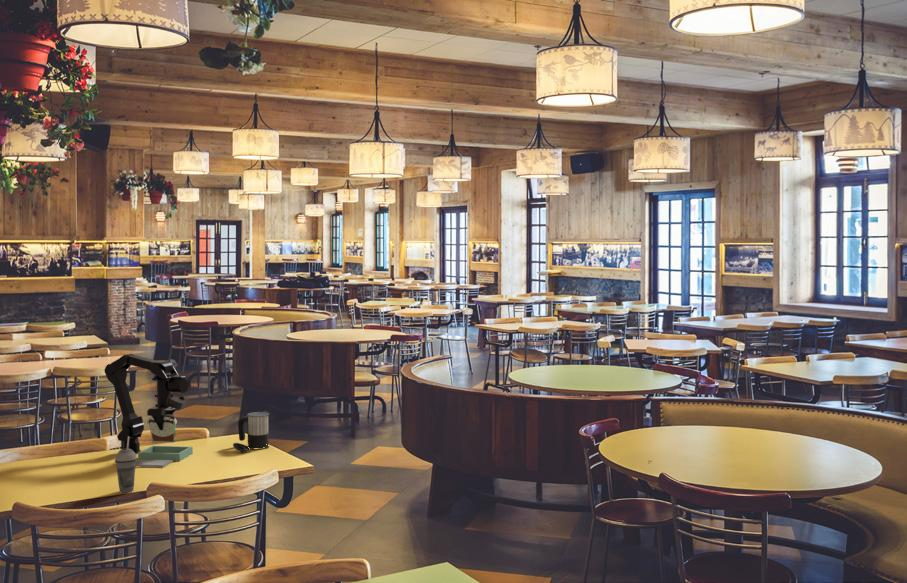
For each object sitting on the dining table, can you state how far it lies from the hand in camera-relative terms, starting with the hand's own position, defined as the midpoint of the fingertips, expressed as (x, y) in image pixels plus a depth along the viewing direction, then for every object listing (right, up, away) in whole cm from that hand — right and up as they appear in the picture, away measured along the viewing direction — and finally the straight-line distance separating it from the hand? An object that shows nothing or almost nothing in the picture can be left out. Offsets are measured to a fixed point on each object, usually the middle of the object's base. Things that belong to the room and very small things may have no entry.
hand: (164, 428), depth 338 cm
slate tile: (-1, -13, -12) cm, 17 cm away
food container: (0, -5, +2) cm, 5 cm away
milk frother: (+33, -11, +13) cm, 37 cm away
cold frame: (0, -12, +1) cm, 12 cm away
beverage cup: (+3, -15, -48) cm, 50 cm away
